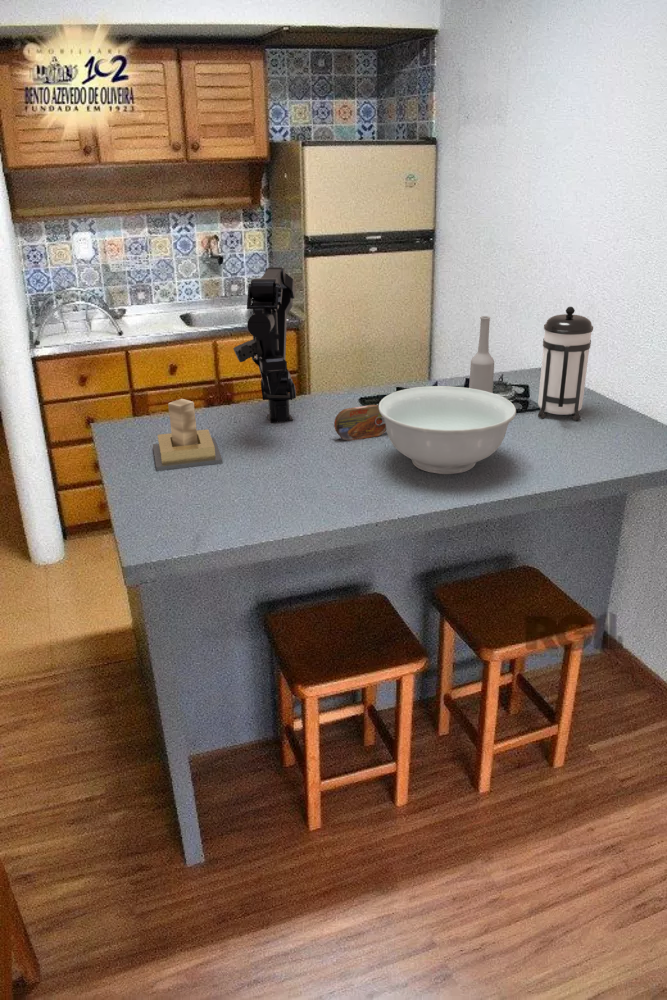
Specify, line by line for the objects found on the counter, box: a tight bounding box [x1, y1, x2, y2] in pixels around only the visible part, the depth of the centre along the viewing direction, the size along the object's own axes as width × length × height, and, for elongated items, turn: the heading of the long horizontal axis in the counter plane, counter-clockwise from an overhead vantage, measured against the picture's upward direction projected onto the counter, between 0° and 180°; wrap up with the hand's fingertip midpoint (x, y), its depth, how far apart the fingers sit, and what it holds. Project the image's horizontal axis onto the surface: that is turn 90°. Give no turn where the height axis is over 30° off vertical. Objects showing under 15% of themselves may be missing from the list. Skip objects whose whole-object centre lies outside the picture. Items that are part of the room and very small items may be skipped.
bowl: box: [378, 385, 517, 475], centre depth 186 cm, size 32×32×15 cm
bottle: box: [468, 315, 495, 394], centre depth 213 cm, size 7×7×28 cm
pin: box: [167, 398, 198, 447], centre depth 194 cm, size 4×4×13 cm
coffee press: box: [537, 306, 594, 422], centre depth 212 cm, size 17×16×30 cm
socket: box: [152, 429, 223, 471], centre depth 196 cm, size 16×16×4 cm
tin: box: [333, 404, 387, 442], centre depth 205 cm, size 15×3×8 cm, turn 109°
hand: (269, 390), depth 202 cm, fingers open, 9 cm apart
